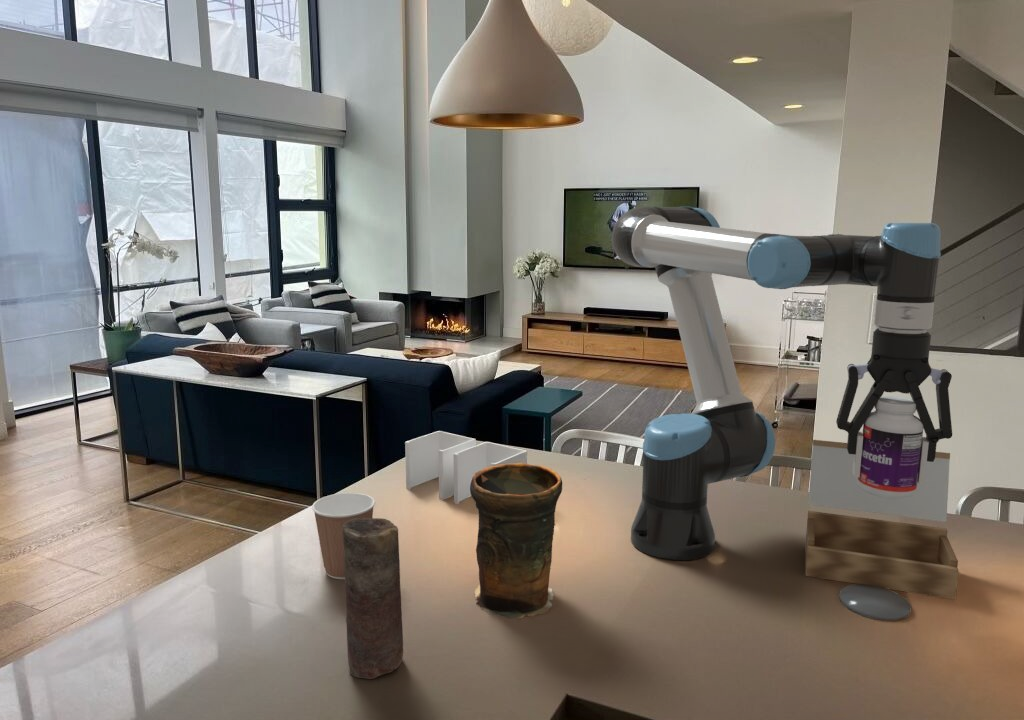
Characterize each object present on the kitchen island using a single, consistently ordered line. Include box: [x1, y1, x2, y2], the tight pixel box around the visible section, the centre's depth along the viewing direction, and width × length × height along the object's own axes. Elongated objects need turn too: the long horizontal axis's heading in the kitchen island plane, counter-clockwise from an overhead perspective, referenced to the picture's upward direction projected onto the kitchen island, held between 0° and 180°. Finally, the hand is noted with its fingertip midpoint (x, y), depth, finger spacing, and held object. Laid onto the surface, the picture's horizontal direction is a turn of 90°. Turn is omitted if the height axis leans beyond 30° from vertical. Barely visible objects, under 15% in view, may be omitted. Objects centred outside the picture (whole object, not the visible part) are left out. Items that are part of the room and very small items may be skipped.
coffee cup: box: [311, 492, 376, 580], centre depth 126 cm, size 10×10×12 cm
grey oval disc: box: [839, 584, 912, 621], centre depth 117 cm, size 10×10×1 cm
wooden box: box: [804, 510, 959, 600], centre depth 127 cm, size 22×12×7 cm, turn 69°
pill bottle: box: [858, 395, 924, 499], centre depth 113 cm, size 8×8×14 cm
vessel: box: [470, 463, 563, 620], centre depth 117 cm, size 14×14×20 cm
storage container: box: [404, 430, 528, 505], centre depth 162 cm, size 25×11×11 cm, turn 53°
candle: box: [343, 517, 404, 680], centre depth 99 cm, size 8×7×20 cm
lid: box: [808, 439, 951, 523], centre depth 133 cm, size 22×12×1 cm
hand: (887, 477), depth 114 cm, fingers closed on pill bottle, 8 cm apart
